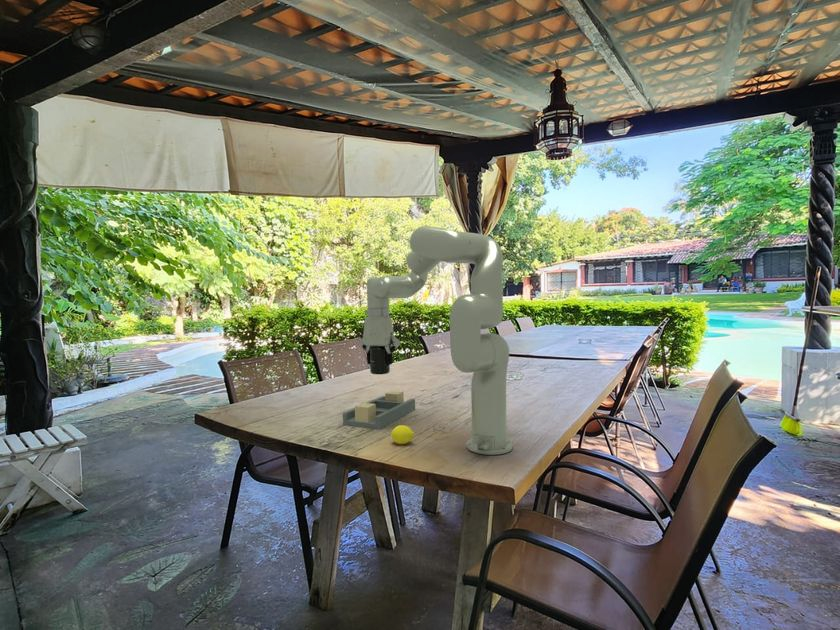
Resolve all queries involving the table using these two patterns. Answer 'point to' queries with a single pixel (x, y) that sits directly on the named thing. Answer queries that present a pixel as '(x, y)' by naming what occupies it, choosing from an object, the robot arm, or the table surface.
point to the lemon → (402, 434)
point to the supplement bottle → (378, 360)
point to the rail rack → (379, 411)
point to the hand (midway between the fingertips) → (379, 363)
